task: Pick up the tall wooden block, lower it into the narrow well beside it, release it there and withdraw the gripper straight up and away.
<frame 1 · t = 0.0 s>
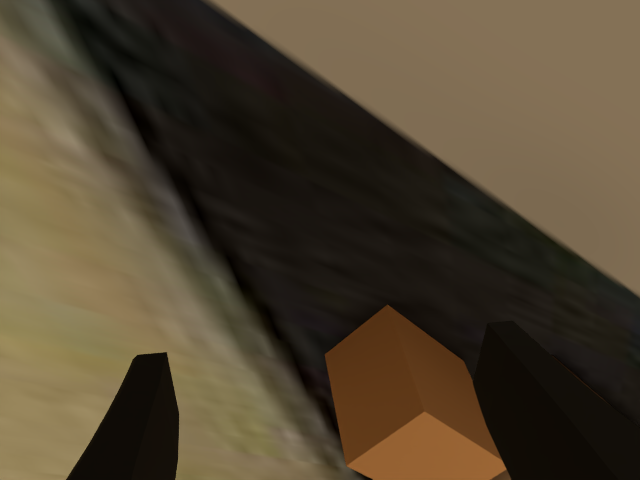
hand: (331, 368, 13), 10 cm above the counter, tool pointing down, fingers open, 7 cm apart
tall wooden block: (395, 357, 28), on the counter
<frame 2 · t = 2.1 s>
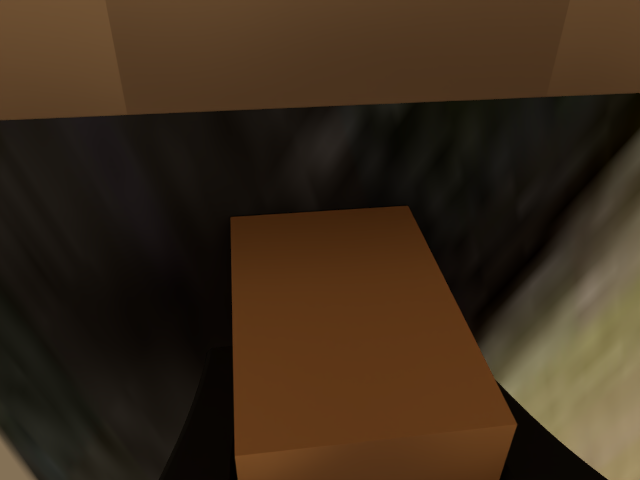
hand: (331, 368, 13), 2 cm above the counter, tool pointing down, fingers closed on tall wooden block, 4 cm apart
tall wooden block: (319, 311, 15), on the counter, touching gripper
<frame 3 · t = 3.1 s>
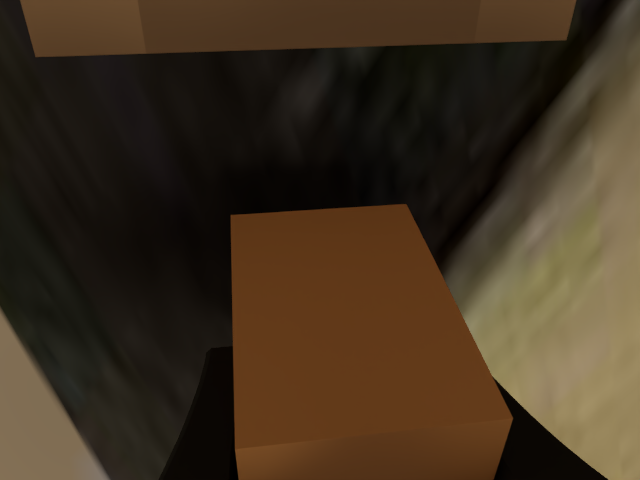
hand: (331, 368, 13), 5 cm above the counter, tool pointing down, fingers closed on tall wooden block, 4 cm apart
tall wooden block: (318, 309, 15), point 3 cm above the counter, touching gripper
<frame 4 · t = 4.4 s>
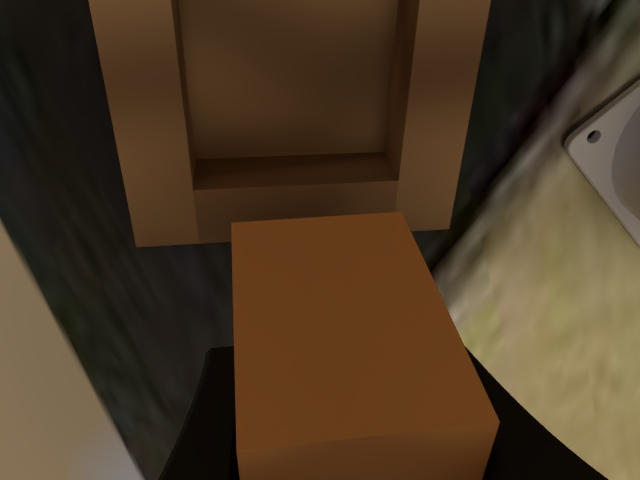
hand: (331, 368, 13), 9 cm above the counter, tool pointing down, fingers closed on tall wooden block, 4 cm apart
tall wooden block: (316, 312, 15), point 7 cm above the counter, touching gripper
well: (290, 24, 18), on the counter
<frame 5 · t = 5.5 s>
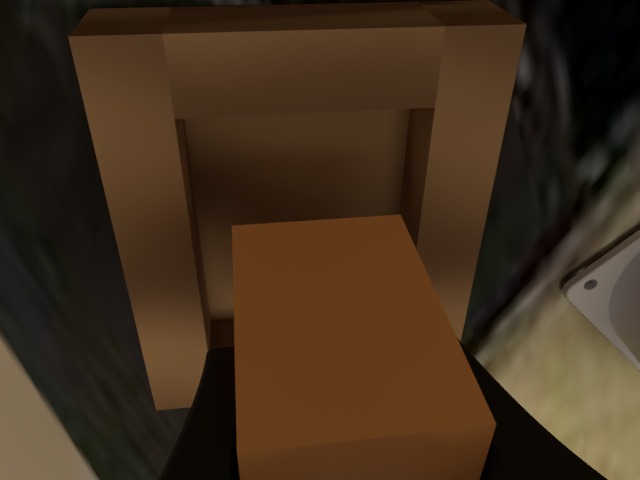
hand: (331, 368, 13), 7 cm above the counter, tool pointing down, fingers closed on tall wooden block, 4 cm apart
tall wooden block: (316, 314, 15), point 5 cm above the counter, touching gripper
well: (299, 206, 19), on the counter
when the fingers open (3 cm above the counter, at t = 6.7 s): tall wooden block stays where it is, resting on well.
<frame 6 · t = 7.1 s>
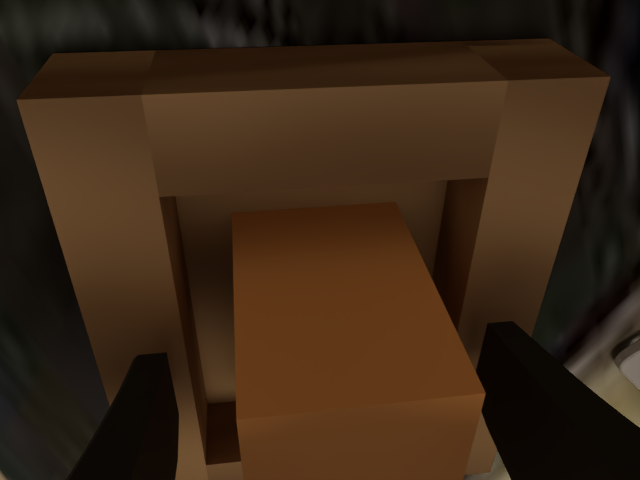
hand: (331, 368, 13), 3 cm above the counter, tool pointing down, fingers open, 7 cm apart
tall wooden block: (314, 301, 16), resting on well
well: (312, 277, 16), on the counter
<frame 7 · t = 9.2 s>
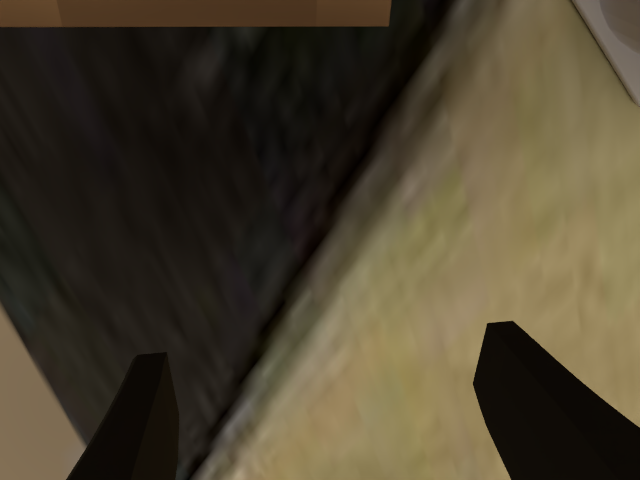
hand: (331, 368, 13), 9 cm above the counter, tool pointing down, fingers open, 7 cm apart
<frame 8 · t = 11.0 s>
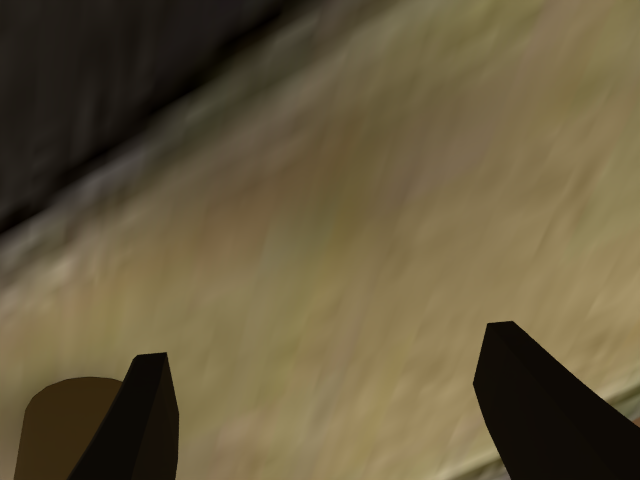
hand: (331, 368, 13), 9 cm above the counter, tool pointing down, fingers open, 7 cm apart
cork: (95, 418, 27), on the counter
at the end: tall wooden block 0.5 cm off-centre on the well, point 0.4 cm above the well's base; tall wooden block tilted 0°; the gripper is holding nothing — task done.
